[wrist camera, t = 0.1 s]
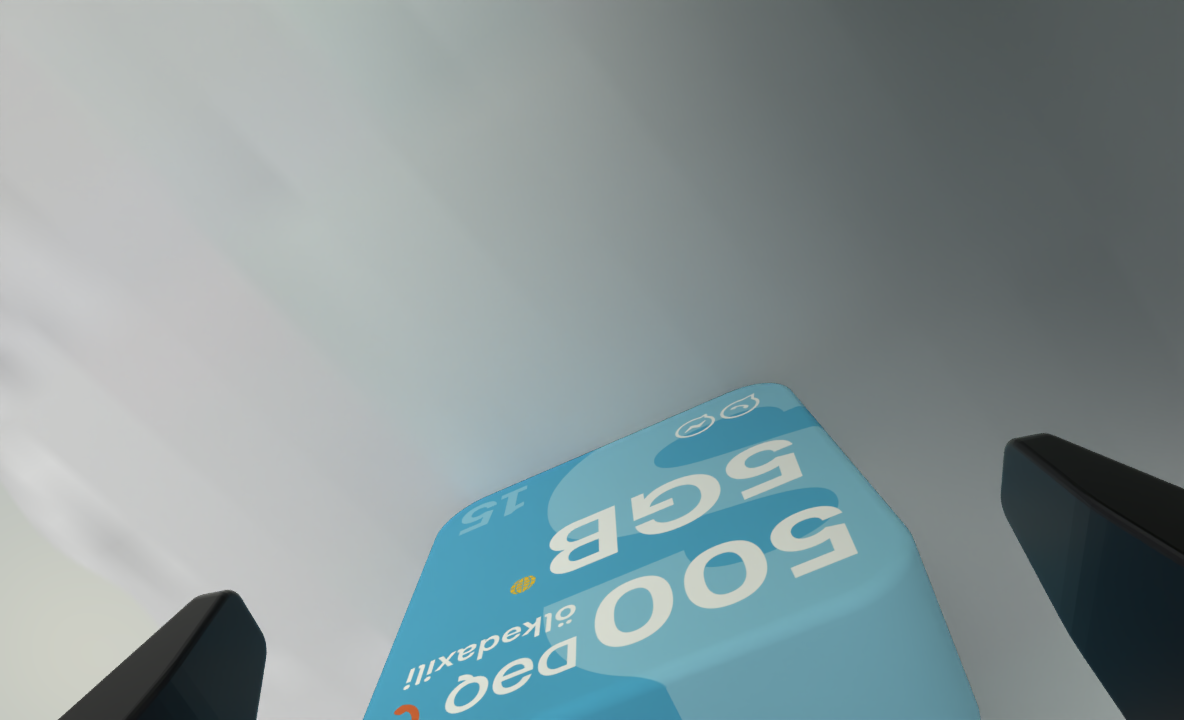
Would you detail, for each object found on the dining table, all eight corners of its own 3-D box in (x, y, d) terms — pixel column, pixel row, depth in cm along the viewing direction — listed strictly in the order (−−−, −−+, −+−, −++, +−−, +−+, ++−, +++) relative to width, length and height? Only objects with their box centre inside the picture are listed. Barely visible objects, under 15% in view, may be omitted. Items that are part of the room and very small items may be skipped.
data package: (776, 369, 24) (943, 564, 13) (824, 487, 26) (1019, 766, 14) (441, 512, 26) (320, 807, 14) (501, 620, 27) (434, 975, 15)
